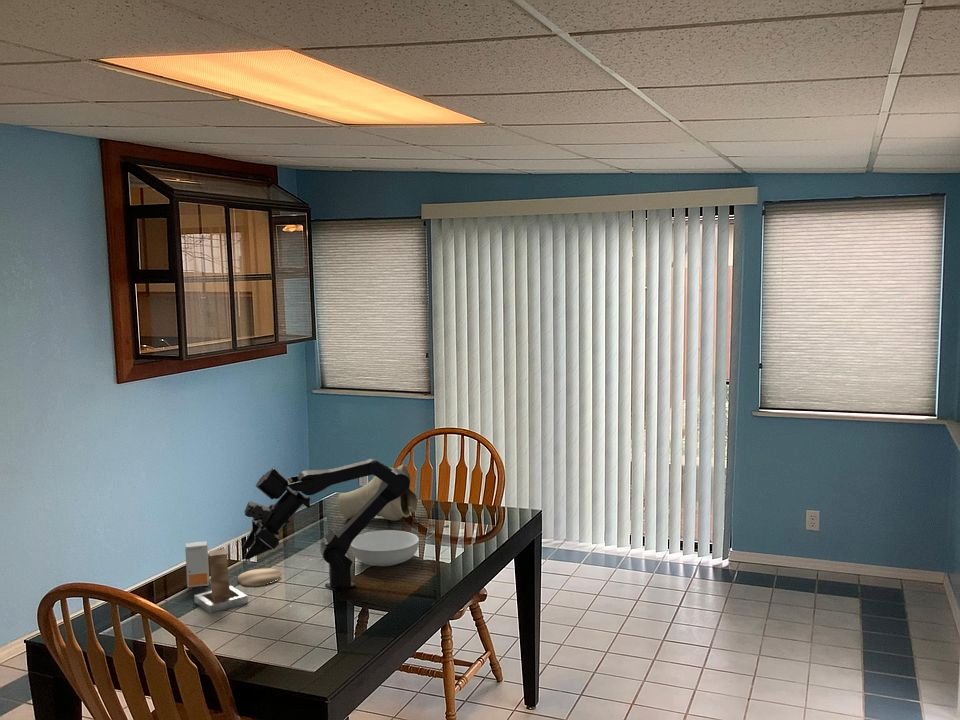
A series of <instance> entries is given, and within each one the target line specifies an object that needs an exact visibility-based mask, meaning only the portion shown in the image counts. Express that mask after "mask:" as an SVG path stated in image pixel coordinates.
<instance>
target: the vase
mask: <svg viewBox="0 0 960 720" xmlns="http://www.w3.org/2000/svg"><path fill="white" fill-rule="evenodd" d="M389 468H390V469H392V470H400V471H402V472H403V473H404V474H405V475H406V476H407V477H408V478H409V481H410V485H411V483H412V477H411V475H410V471H409V470H408V468H407V467H406V464H401V465H399V466H398V467H394V468H393V467H389ZM381 482H382V480H381V479H379V478H378V477H376V476H375V475H373V478H372V479H371V480H370V481H369V482H367V483H366V484H364V485H363V486H361V487H359V488H357V489H356V488H355V489H354V490H352V491H348V492H347V491H346V492H342V493H340V494H338V496H337V497H338V499H337V504H338V505H337V506H338V510H339V512H340V514H341V516H342V517H343V519H345V520H348V519H352V518H353V517H354V516H355V515H356V514H357V512H358V511H359V510H360V509H361V508H362V507H363V506H364V505H365V504H366V503H367V502H368V501H369V500H370V499H371V498H372V497H373V496H374V495H375V494H376V492H377V491H378V489H379V487H380V484H381ZM417 510H418V496H417V493H416V492H415V491H414V490H413V489H412V488H411V486H410V487H409V489H408V490H407V491H406V492H405V493H404V494H402V495H401V496H400V497H399V498H397V499H395V500H393V501H391V502H389V503H388V504H387V505H386V506H385V507H384V508H383V509H382V510H381V511H380V512H379V513H378V514H377V515H376V516H377V517H381V518H384V519H385V520H387V521H388V520H389V521H399V520H401V519H402V518H403V517H404V518H408V517H410V516H411V513H416V512H417Z"/></svg>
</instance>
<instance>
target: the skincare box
mask: <svg viewBox="0 0 960 720" xmlns="http://www.w3.org/2000/svg"><path fill="white" fill-rule="evenodd" d="M208 547H209V546H208V541H207V540H205V541H195V542H186V543H185V548H184V549H185V567H186V569H185V570H186V586H187V587H186V588H188V589H189V588H195V587H204V586H205V587H206V586H207V587H209V586H210V564H209V551H208Z"/></svg>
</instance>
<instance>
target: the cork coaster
mask: <svg viewBox="0 0 960 720" xmlns="http://www.w3.org/2000/svg"><path fill="white" fill-rule="evenodd" d="M280 576H281V571H280V570H278V569H276V568H268V567H267V568H255V569H251V570H247V571H244V572H242V573H240V574H239V575H238V577H237V580H238V583H239V584H240V585H242V586H244V587H245V586H246V587H259V586H258V585H262V586H265V585H264V584H267V583H270V582H272V581H275V580H277V579H279V578H280ZM280 579H281V578H280ZM280 579H279V580H280ZM267 585H268V584H267Z"/></svg>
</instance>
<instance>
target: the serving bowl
mask: <svg viewBox="0 0 960 720" xmlns="http://www.w3.org/2000/svg"><path fill="white" fill-rule="evenodd" d="M419 543H420V538H419V536H417V534H415V533H412V532H407V531H404V530H403V531H402V530H394V529H393V530H392V529H391V530H390V529H389V530H388V529H387V530H385V529H384V530H374V531H368V532H364V533H361V534H358V535H357V536H356V537H355V538H354V540H353V541H352V543H351V545H350V547H349V549H350V551H351V553H352V555H353V557H354V558H355V559H356V560H357V561H359V562H361V563H362V564H366V565H368V566H369V565H370V566H374V567H375V566H376V567H390V566H394V565H398V564H402V563H405V562H407V561H409V560H410V559H411V558H413V557H414V556H415V554H416V553H417V551H418V548H419Z"/></svg>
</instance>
